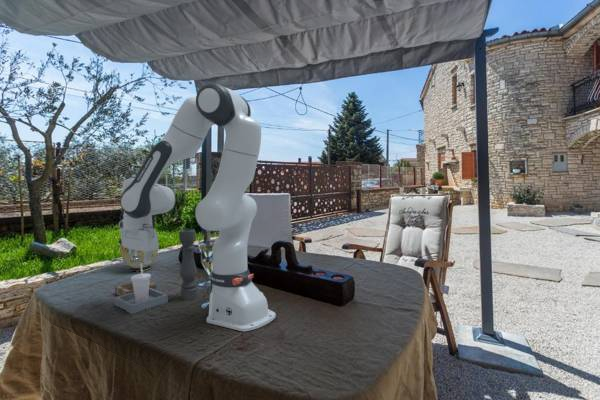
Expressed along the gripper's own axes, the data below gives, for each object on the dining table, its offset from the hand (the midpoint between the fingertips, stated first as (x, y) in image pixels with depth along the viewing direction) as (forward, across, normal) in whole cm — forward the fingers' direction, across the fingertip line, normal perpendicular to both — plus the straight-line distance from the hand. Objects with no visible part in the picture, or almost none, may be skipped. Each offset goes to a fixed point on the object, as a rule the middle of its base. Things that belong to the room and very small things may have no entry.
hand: (140, 262), depth 113 cm
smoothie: (+15, 0, +1) cm, 15 cm away
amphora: (+14, +46, -21) cm, 52 cm away
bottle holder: (+15, +14, -4) cm, 20 cm away
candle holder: (+15, -7, -14) cm, 22 cm away
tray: (+15, +1, 0) cm, 15 cm away
